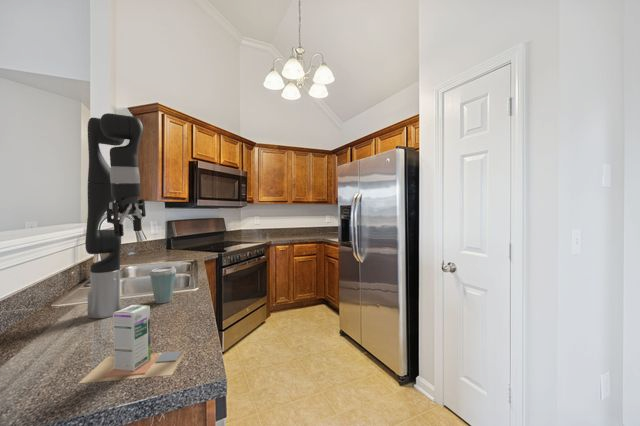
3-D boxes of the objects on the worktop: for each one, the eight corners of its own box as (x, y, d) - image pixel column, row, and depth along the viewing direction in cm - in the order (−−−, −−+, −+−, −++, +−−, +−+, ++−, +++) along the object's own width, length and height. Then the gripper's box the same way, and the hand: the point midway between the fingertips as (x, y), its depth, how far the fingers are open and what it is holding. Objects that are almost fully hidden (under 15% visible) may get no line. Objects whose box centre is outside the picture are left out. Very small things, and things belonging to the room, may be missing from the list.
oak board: (77, 387, 64) (77, 383, 64) (107, 360, 76) (107, 356, 76) (171, 379, 68) (171, 374, 68) (186, 354, 80) (186, 350, 80)
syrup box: (133, 372, 69) (133, 312, 69) (112, 369, 69) (112, 311, 69) (151, 359, 74) (151, 305, 74) (131, 358, 75) (131, 303, 75)
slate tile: (155, 362, 73) (155, 361, 73) (162, 353, 78) (162, 352, 78) (176, 361, 74) (176, 360, 74) (181, 351, 79) (181, 350, 79)
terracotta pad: (103, 377, 67) (103, 376, 67) (123, 358, 76) (123, 357, 76) (145, 373, 68) (145, 372, 68) (159, 355, 77) (159, 354, 77)
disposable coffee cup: (161, 306, 120) (161, 271, 120) (143, 303, 124) (143, 269, 124) (181, 299, 130) (181, 266, 130) (164, 296, 134) (164, 265, 134)
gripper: (129, 181, 94) (131, 229, 96) (95, 181, 80) (99, 238, 82) (151, 181, 94) (153, 229, 96) (121, 182, 80) (125, 238, 82)
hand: (128, 233), depth 89 cm, fingers open, 8 cm apart
